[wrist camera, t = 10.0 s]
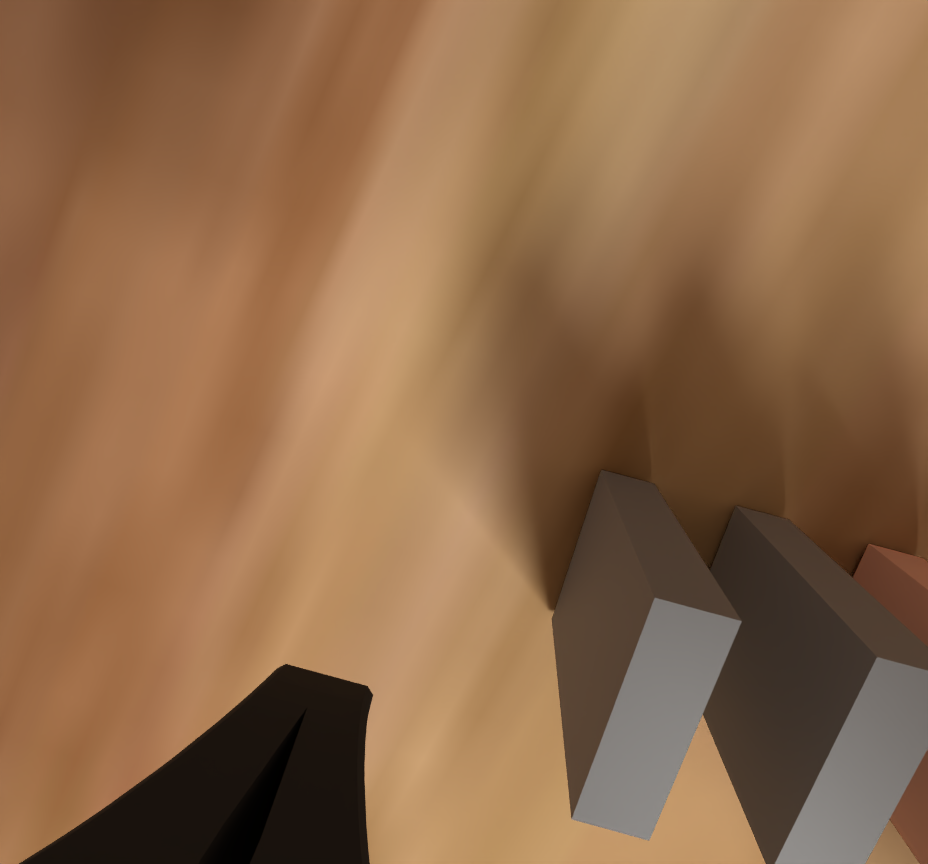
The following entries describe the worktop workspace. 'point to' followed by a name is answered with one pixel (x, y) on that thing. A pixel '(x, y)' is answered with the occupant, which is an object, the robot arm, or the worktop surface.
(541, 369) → the worktop surface
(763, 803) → the charcoal tile
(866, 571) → the brick tile
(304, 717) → the robot arm
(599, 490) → the charcoal tile
